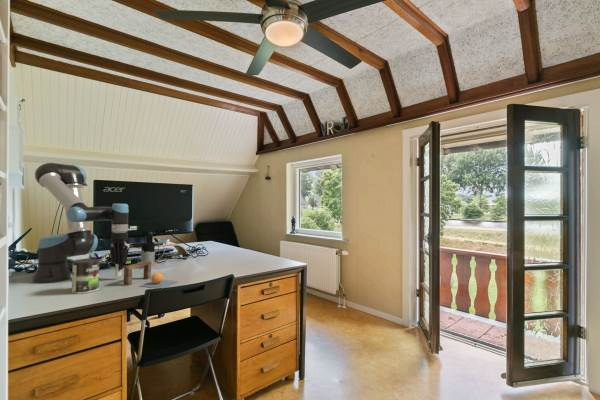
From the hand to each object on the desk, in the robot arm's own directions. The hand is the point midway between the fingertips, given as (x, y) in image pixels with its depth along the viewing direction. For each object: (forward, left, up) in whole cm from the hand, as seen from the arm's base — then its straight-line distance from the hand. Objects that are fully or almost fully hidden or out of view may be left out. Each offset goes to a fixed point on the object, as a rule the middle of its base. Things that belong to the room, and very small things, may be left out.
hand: (118, 275), depth 153 cm
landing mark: (+27, 0, -2) cm, 27 cm away
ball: (+25, 0, +1) cm, 25 cm away
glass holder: (-6, +30, -2) cm, 31 cm away
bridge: (+13, 0, -2) cm, 13 cm away
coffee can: (+3, -20, -2) cm, 20 cm away
